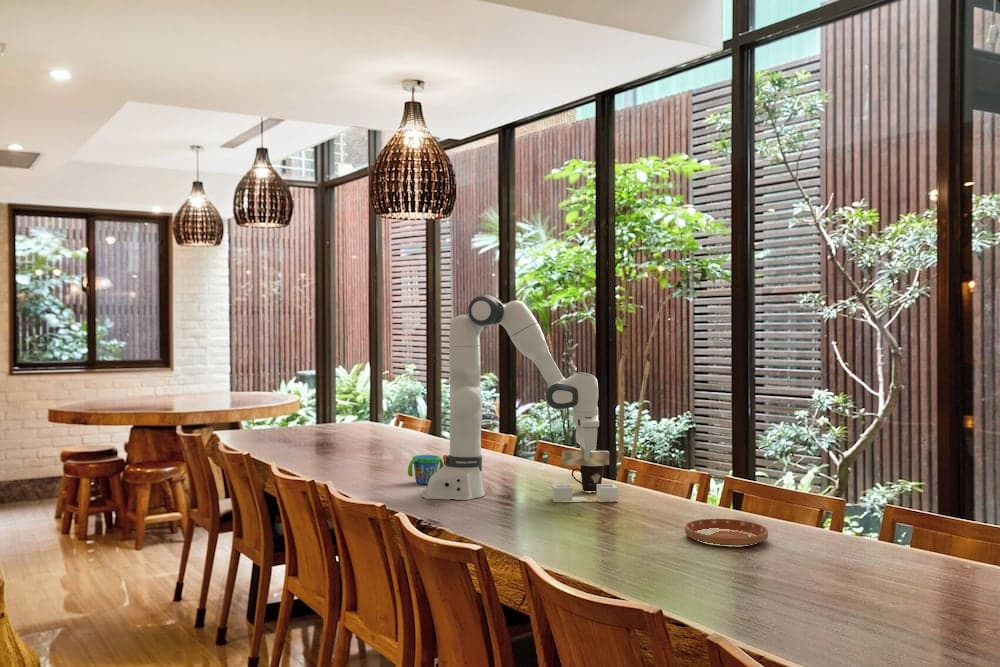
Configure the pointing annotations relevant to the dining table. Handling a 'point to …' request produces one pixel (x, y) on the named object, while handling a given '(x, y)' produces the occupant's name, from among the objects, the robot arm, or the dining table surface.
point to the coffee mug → (590, 476)
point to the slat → (578, 458)
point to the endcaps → (565, 494)
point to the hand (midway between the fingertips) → (585, 459)
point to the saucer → (726, 536)
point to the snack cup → (424, 467)
